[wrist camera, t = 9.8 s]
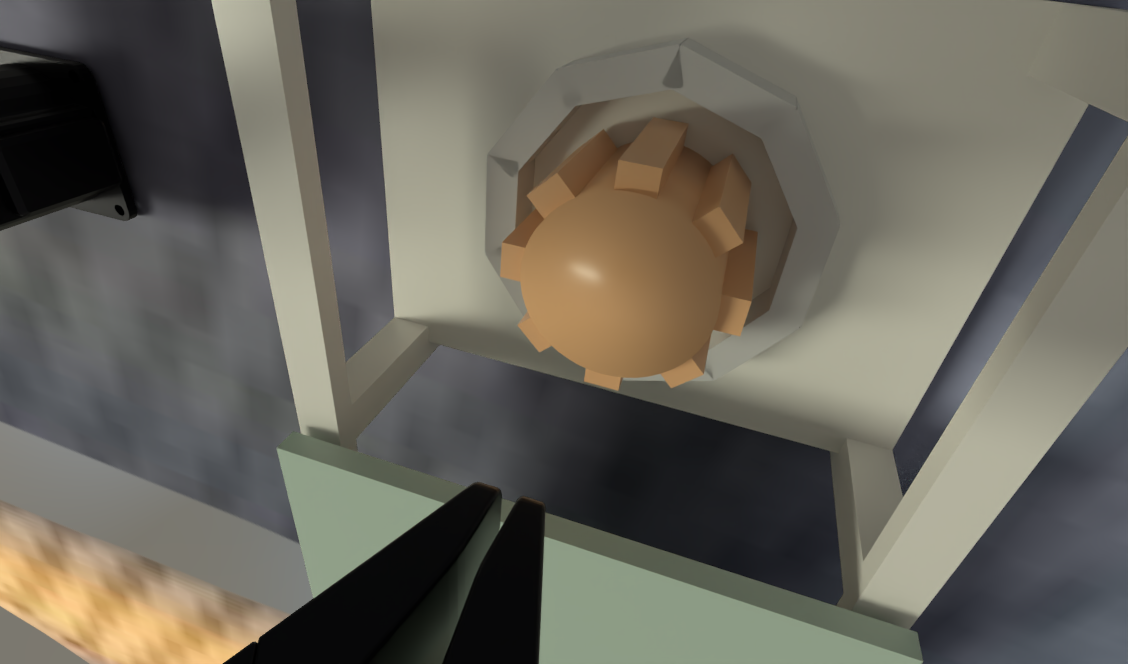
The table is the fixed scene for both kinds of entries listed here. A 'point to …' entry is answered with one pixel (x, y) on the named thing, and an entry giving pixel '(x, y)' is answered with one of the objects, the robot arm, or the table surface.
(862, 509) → the housing
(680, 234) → the gear hub
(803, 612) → the sliding lid
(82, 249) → the table surface
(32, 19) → the table surface
